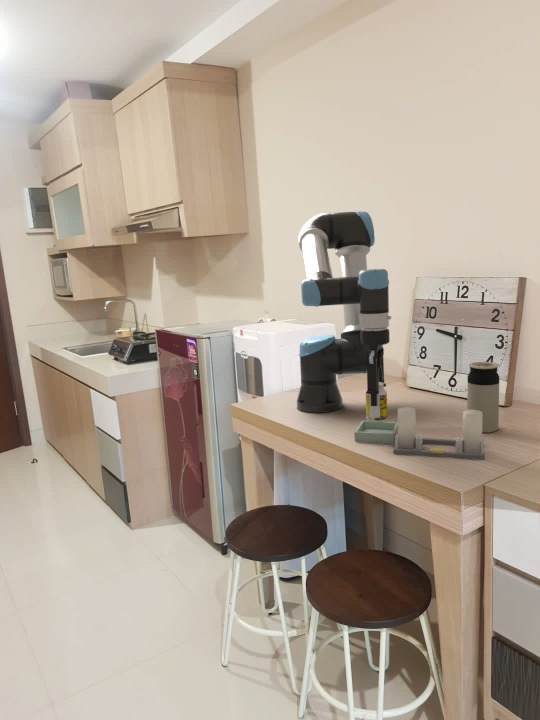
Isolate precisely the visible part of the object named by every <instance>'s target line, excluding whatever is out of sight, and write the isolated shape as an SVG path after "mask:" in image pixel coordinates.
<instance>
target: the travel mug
mask: <svg viewBox="0 0 540 720" xmlns="http://www.w3.org/2000/svg"><path fill="white" fill-rule="evenodd" d="M468 367H469V369H470V371H469V373H468V375H467V397H466V398H467V401H466V402H467V403H466V405H467V408H466V410H479V411H481V412H482V434H486V433H494V432H496V431H497V430H499V422H500V421H499V415H500V414H499V411H500V410H499V409H500V375H499V373H498V368H499V364H498V363H496V362H491V361H474V362H471V363H468Z"/></svg>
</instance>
